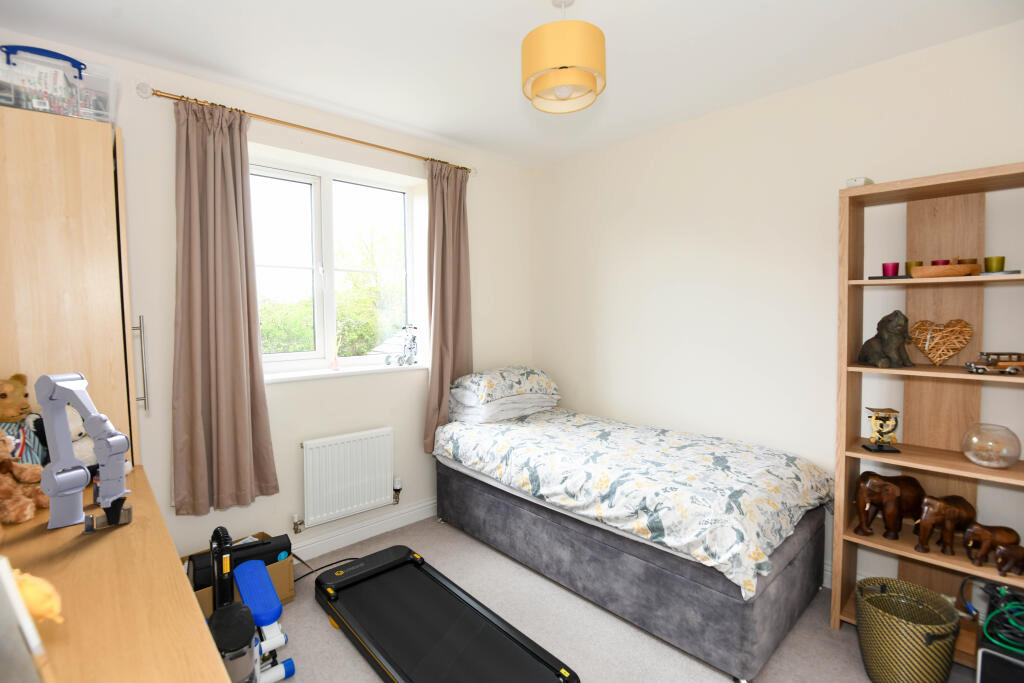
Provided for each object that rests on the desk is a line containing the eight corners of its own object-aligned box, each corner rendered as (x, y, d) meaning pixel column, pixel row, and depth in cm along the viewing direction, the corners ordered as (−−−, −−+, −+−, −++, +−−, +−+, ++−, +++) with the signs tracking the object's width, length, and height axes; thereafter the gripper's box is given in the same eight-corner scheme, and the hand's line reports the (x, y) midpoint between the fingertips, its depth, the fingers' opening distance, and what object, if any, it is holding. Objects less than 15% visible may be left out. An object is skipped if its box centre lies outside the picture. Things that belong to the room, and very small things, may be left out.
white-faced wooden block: (119, 522, 144) (119, 507, 144) (132, 519, 146) (131, 504, 146) (119, 523, 143) (119, 508, 143) (132, 520, 145) (132, 506, 145)
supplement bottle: (103, 506, 157) (102, 471, 156) (88, 505, 158) (87, 470, 158) (121, 500, 163) (120, 466, 162) (107, 498, 164) (106, 465, 163)
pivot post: (81, 531, 137) (81, 515, 137) (96, 528, 140) (96, 513, 139) (81, 535, 135) (81, 519, 135) (97, 532, 137) (96, 516, 137)
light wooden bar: (96, 530, 138) (96, 515, 138) (95, 528, 139) (95, 513, 139) (131, 522, 144) (130, 507, 143) (129, 520, 145) (129, 506, 144)
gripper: (122, 482, 134) (123, 531, 135) (136, 469, 148) (137, 513, 148) (90, 486, 131) (91, 536, 132) (107, 472, 145) (108, 517, 145)
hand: (113, 524), depth 140 cm, fingers closed
